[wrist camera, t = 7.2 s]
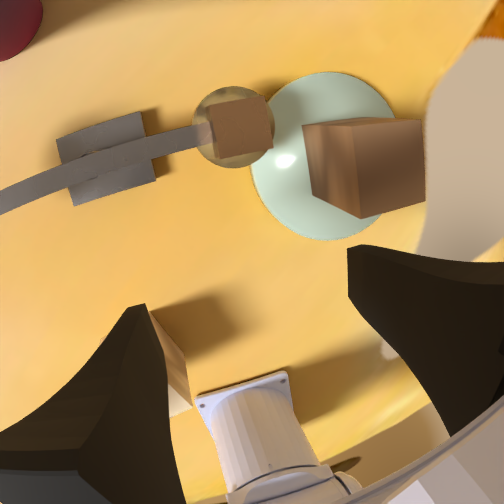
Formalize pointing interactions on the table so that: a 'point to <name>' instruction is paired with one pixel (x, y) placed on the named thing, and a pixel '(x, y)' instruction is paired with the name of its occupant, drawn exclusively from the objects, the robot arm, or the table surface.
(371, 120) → the walnut block
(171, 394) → the maple block
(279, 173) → the dish
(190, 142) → the balance
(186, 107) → the table surface
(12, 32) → the cup
